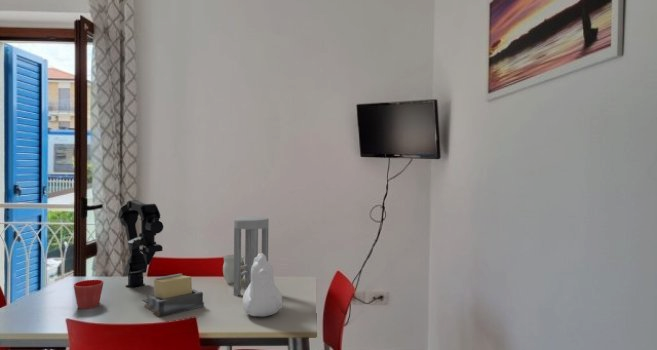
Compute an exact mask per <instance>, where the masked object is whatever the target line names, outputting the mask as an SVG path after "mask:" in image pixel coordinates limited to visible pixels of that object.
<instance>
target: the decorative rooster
mask: <svg viewBox="0 0 657 350" xmlns="http://www.w3.org/2000/svg"><path fill="white" fill-rule="evenodd" d="M274 278H275V277H274V268H273V265H272V264H271V262H269V260H268V261H267V259H266V256H265V255H264V254H263V253H262V252H261V253H258V255H257V257H255V258H254V262H253V265H252V267H251V283H250V284H249V286H248V288H247V289H246V290H245V291H244V294H243V296H242V307H243V310H244V313H246V314H249V315H250V316H252V317H267V316H271V315H275V314H276V313H277V312H278V311H279V310H281V309H282V307H283V297H282V292H281V291H280V289H278V287H277V286H276V283H275V280H274Z"/></svg>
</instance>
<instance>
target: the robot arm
mask: <svg viewBox="0 0 657 350" xmlns="http://www.w3.org/2000/svg"><path fill="white" fill-rule="evenodd" d="M139 217H140V221H141V223H140V226H141V227H140V230H141V232H139V234H138V232H137V231H138V230H137V227H136V226H137V225H136V224H137V221H138V219H139ZM118 219H119V220H120V221H119V222H120V223H121V225H122V226H123V227H124V228H125V232H126V233H125V234H126V239H127V241H126V243H127V244H128V245H127V247H128V250H129V251H128V252H129V257H128V258H127V263H126V265H125V268H124V275H126V276H127V282H128V283H127V284H125V288H134V289H135V288H136V289H137V288H139V287H142V286H145V285H146V283H144V274H145V273H147V269H148V266H149V265H150V264H151V262H152V260H153V258H154V255H156V253H157V252H158V253H159V252H163V249H164V248H163V245H161V244H159V243H157V241H156V239H155V238H156V236H157V234H160V233H162V232H163V230H164V224H163V222H162V221H160V219H161V213H160V210H159V208H158V206H157V204H156V203H144V202H141V201H139V200H136V199H135V200H128V201H127V202H126V203H125V204H124V205H122V207H120V209H119V211H118Z"/></svg>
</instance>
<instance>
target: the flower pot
mask: <svg viewBox="0 0 657 350" xmlns="http://www.w3.org/2000/svg"><path fill="white" fill-rule="evenodd" d="M103 287H104V280H101V279H86V280H82V281H80V280H79V281H77V282H75V283H74V284H73V289H74V295H75V301H76V305H77V308H78V309H84V310H88V309H93V308H96V307H99V305H100V303H101V302H100V301H101V296H102V293H103Z"/></svg>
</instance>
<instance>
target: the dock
mask: <svg viewBox="0 0 657 350" xmlns="http://www.w3.org/2000/svg"><path fill="white" fill-rule="evenodd" d="M203 296H204V292H203V291H198V290H195V289H193V288H192V294H188V295H183V296H179V297H174V298H169V299H165V300H159V299H157V298H156V297H155V295H154V296H153V295H148V296H147V298H145V299H142V300H141V301H142V302H143V303H146V304H144V308H146V309H147V310H149V311H150V312H152V314H153V315H154V316H155V317H158V318H161V317H166V316H169V315H174V314H178V313H182V312H183V313H184V312H186V311H190V310H195V309H199V308H202V307H203V308H204V307H205V303H204V297H203Z"/></svg>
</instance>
